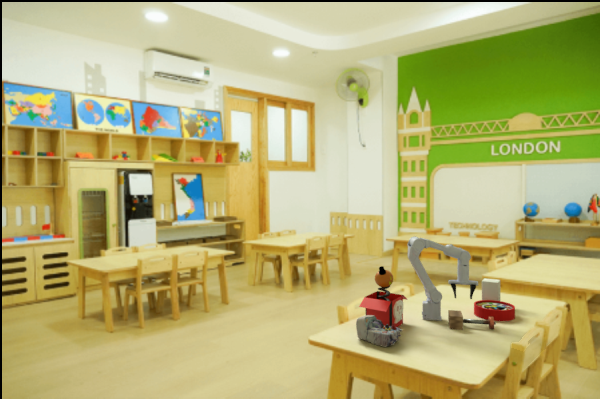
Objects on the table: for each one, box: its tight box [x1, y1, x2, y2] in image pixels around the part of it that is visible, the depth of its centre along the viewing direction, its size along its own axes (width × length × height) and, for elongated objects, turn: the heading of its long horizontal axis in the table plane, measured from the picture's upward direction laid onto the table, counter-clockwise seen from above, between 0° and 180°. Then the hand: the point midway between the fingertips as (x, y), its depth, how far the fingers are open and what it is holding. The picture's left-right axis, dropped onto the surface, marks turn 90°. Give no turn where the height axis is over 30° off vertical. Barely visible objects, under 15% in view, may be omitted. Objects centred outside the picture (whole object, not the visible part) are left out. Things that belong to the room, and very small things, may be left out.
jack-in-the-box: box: [358, 266, 408, 328], centre depth 218 cm, size 26×16×30 cm, turn 143°
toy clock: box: [473, 299, 516, 322], centre depth 232 cm, size 20×6×20 cm
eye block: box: [447, 309, 464, 331], centre depth 215 cm, size 6×10×6 cm, turn 165°
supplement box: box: [481, 277, 501, 301], centre depth 250 cm, size 9×9×15 cm
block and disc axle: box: [463, 316, 497, 330], centre depth 212 cm, size 15×6×6 cm, turn 75°
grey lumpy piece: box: [355, 314, 403, 348], centre depth 196 cm, size 13×11×20 cm
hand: (463, 298), depth 228 cm, fingers open, 7 cm apart
